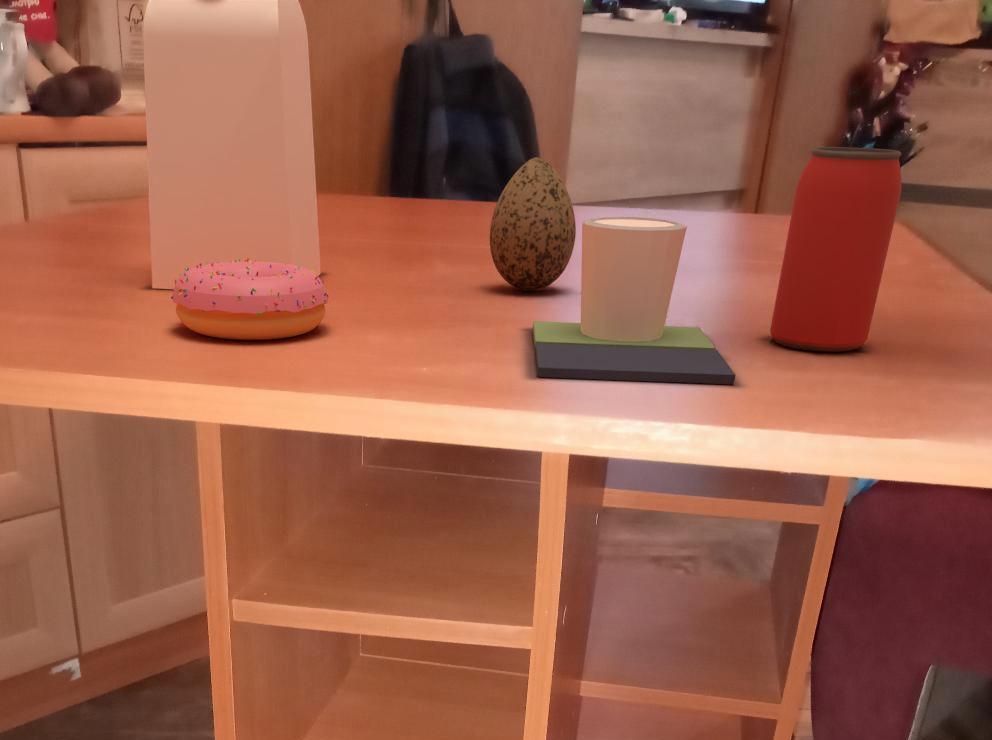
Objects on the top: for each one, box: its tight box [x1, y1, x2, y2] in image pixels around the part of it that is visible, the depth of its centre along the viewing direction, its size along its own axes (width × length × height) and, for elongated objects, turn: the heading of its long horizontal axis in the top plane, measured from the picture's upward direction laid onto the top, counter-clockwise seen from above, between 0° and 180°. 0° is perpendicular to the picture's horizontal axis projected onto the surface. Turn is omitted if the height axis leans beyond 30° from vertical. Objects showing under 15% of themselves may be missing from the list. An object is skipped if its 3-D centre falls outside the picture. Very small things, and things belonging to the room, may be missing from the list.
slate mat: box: [534, 344, 736, 385], centre depth 73 cm, size 12×7×1 cm, turn 85°
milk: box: [142, 0, 322, 290], centre depth 93 cm, size 12×12×26 cm
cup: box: [580, 216, 688, 342], centre depth 78 cm, size 7×7×7 cm
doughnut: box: [170, 258, 330, 341], centre depth 81 cm, size 11×11×4 cm
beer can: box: [769, 146, 902, 353], centre depth 78 cm, size 7×7×12 cm
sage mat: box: [532, 320, 716, 350], centre depth 80 cm, size 12×7×1 cm, turn 85°
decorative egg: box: [489, 156, 577, 292], centre depth 96 cm, size 7×7×10 cm
